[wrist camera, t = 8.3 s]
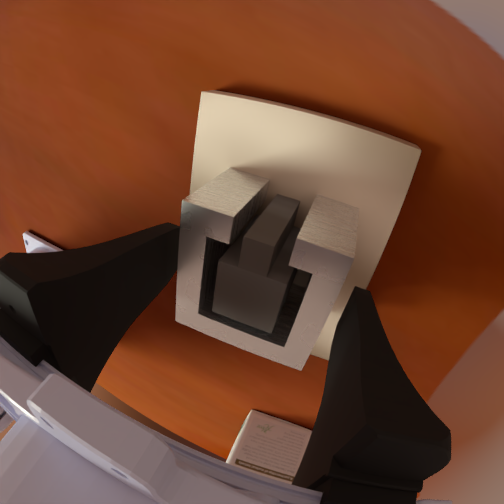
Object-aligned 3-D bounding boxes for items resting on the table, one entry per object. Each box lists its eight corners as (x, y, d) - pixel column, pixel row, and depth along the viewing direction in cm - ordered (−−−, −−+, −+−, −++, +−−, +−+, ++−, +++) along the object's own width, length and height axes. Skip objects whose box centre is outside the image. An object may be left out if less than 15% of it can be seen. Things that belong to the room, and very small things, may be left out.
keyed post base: (332, 345, 18) (314, 419, 14) (192, 294, 20) (146, 351, 15) (416, 145, 11) (445, 180, 7) (214, 90, 13) (142, 100, 9)
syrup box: (250, 406, 24) (175, 560, 12) (316, 430, 23) (261, 588, 11) (239, 432, 27) (176, 558, 15) (296, 452, 26) (245, 582, 14)
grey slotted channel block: (318, 309, 15) (301, 370, 12) (214, 271, 16) (175, 320, 13) (359, 208, 12) (354, 258, 9) (230, 167, 13) (182, 200, 10)
